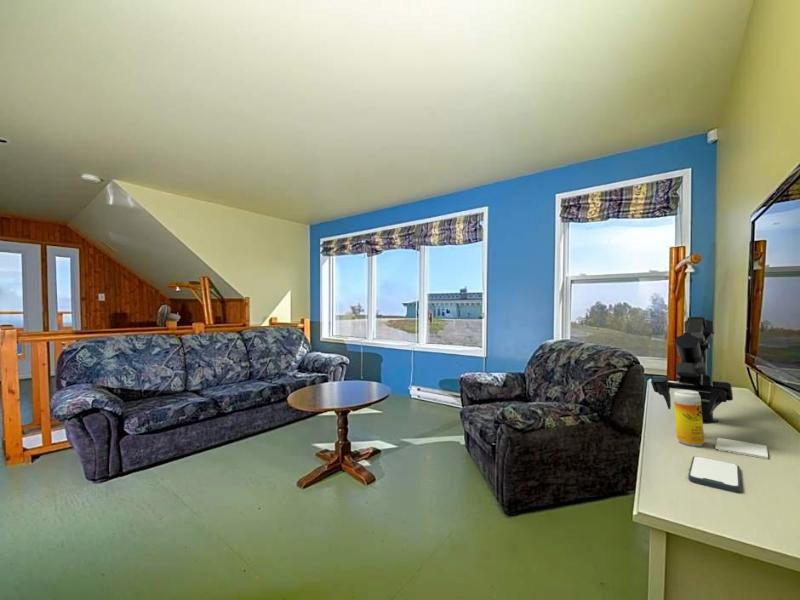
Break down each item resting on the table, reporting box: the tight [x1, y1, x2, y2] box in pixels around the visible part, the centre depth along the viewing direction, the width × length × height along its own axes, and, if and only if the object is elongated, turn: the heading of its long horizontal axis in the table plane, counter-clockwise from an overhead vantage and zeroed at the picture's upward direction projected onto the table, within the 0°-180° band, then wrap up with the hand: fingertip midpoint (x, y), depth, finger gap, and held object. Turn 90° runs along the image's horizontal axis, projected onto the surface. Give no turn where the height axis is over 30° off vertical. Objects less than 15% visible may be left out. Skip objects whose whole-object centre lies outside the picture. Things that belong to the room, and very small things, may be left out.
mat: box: [714, 437, 769, 460], centre depth 95 cm, size 10×10×1 cm
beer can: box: [673, 389, 705, 447], centre depth 101 cm, size 6×6×15 cm
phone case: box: [687, 456, 742, 494], centre depth 82 cm, size 9×2×16 cm
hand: (688, 411), depth 102 cm, fingers open, 9 cm apart
